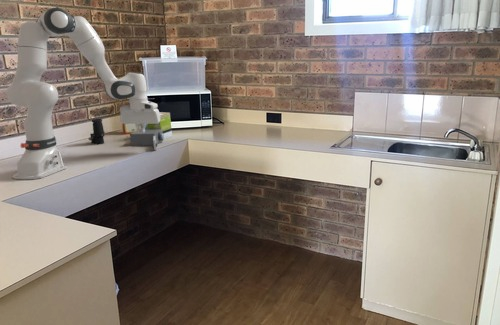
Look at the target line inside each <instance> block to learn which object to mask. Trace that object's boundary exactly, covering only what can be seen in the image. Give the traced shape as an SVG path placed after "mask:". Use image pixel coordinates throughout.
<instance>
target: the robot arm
mask: <svg viewBox="0 0 500 325" xmlns="http://www.w3.org/2000/svg"><path fill="white" fill-rule="evenodd" d="M63 35H65V36H66V37H69V39H71V41H72V42H73V43H74V45H75V47H76V48H77V50H78V51H79V52H80V53H81V55H82V56H83V57H84V58H85V59H86V60H87V61H88V62H89V63H90V65H92V67H93V68H94V70H95V71H96V73H97V75H98V76H99V78H100V79H101V81H102V83H103V86H104V91H105V94H106V95H107V97H109V98H110V99H112V100H118V101H120V100H122V101H123V100H125V99H128V100H129V104H127V105H125V104H123V105H121V106H120V107H119V113H120V122H121V125H122V124H135V126H136V127H137V129H138V132H145V127H146V124H157V123H159V122H160V113H159V112H160V111H159V109H158V107H159V106H158V103H155V102H152V101H150V100H148V96H147V90H148V88H147V81H146V77H145V75H144V74H143V73H141V72H134V71H129V72H128V73H126V75H124V76H121V78H117V77H116V76H115V74H114V73H113V71H112V70H111V68H110V66H109V65H108V63H107V60H106V57H105V52H106V49H105V46H104V43H103V41H102V39H101V37H100V36H99V35H98V33H97V31H96V30H95V29H94V28H93V26H92V25H91V24H90V23H89V21H88V20H87V19H86V18H85V17H83V16H79V15H77V16H76V15H75V16H73V15H72V14H70V13H69V12H67V11H66V10H64V9H62V8H60V7H51V8H49V9H47V10H45V11H44V12H43V13H41V14H40V16H38V18H37V20H36V21H26V22H23V23H22V24H21V25H20V28H19V33H18V38H17V63H16V70H15V74H14V76H13V80H12V82H11V83H10V85H9V86H8V87H7V89H6V92H5V93H6V98H7V100H8V101H9V102H10V103H11V104H12V105H15V106H18V107H22V108H27V115H26V118H25V119H24V120H23V127H24V128H23V129H24V132H25V133H24V135H25V142H24V143H23V142H21V143H20V148H21V149H25V151H24V152H23V154H22V155H21V157H20V158H19V160H18V162H17V164H16V166H17V168H16V169H17V172H16V173H14V174H13V175H12V177H11V178H12V179H15V180H36V179H37V180H38V179H43V178H45V177H48V176H50V175H53V174H56V173H58V172H60V171H63V170H65V169H67V166H66V165H64V162H63V159H62V155H61V152H60V150H59V149H58V147H57V144H58V143H57V138H56V136H55V134H54V128H53V121H52V117H53V110H54V107H55V105H56V104H57V103H58V100H59V91H58V90H57V88H56V87H55V86H54V85H53V84H50V83H47V82H44V81H41V77H42V76H43V74H44V73H45V72H46V71H47V68H48V67H47V66H48V42H49V41H48V40H49V39H54V38H58V37H61V36H63ZM141 124H142V126H143V128H142V129H141Z"/></svg>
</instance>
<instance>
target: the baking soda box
mask: <svg viewBox="0 0 500 325" xmlns="http://www.w3.org/2000/svg"><path fill="white" fill-rule="evenodd" d="M121 127H122V133H123V135H124V136H125V135H130V134H131V133H133V132H135V131H137V130H138V129H137V127H136V126H135V124H122V123H121Z"/></svg>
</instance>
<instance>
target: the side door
mask: <svg viewBox="0 0 500 325" xmlns="http://www.w3.org/2000/svg"><path fill="white" fill-rule="evenodd" d="M152 137H153V145H152V146H153V150H154V151H157V147H158V144H157V143H156V137H155V136H152Z"/></svg>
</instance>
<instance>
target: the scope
mask: <svg viewBox="0 0 500 325" xmlns="http://www.w3.org/2000/svg"><path fill="white" fill-rule="evenodd" d="M91 123H92V131H93V133H90V137H88V140H89V141H91V144H96V145H103V144H105V139H104V137H105V136H106V135H105V130H104V125H103V118H93V119H91Z"/></svg>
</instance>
